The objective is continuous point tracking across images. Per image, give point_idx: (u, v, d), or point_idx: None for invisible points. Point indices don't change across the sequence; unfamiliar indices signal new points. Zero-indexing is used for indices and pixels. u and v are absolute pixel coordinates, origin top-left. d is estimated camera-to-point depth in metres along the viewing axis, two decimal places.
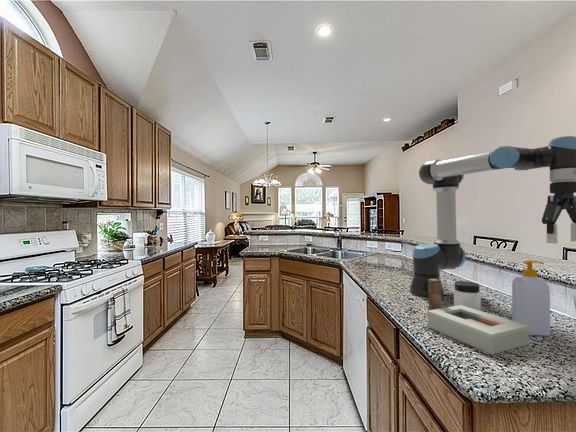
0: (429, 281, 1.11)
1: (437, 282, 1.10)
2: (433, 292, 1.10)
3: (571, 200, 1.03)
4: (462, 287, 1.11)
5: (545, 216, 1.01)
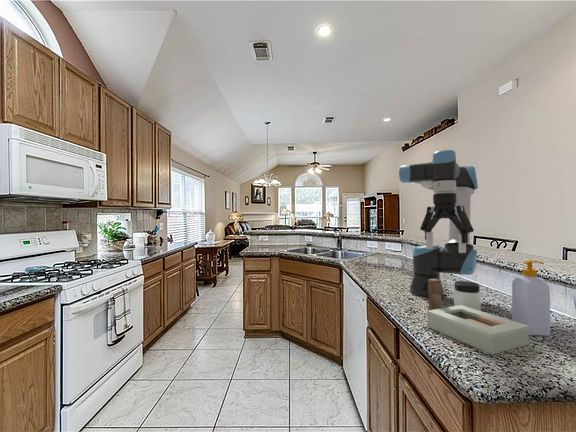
0: (429, 281, 1.11)
1: (437, 282, 1.10)
2: (433, 292, 1.10)
3: None
4: (462, 287, 1.11)
5: None
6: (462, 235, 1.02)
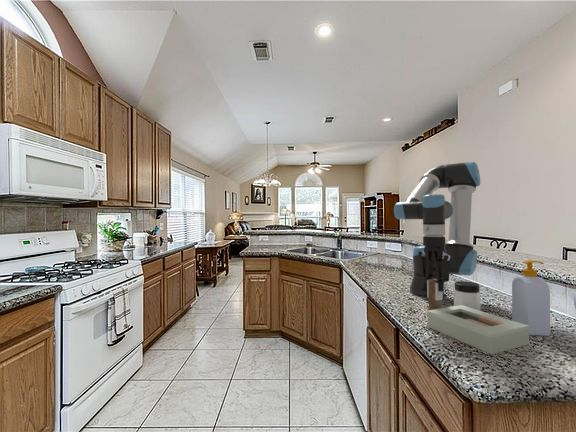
0: (429, 281, 1.11)
1: None
2: (433, 292, 1.10)
3: None
4: (462, 287, 1.11)
5: None
6: (438, 284, 1.08)
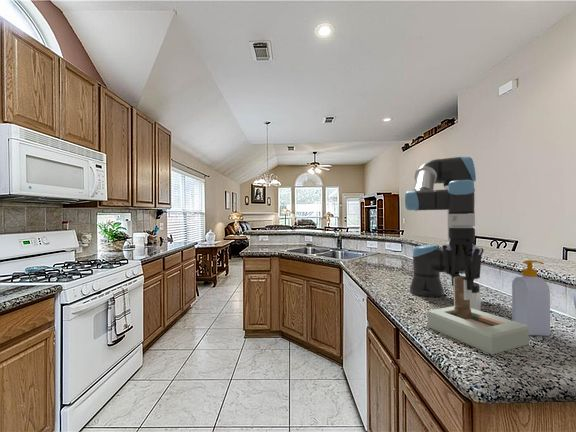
0: (456, 278, 0.98)
1: None
2: (461, 291, 0.97)
3: None
4: None
5: None
6: (467, 281, 0.96)
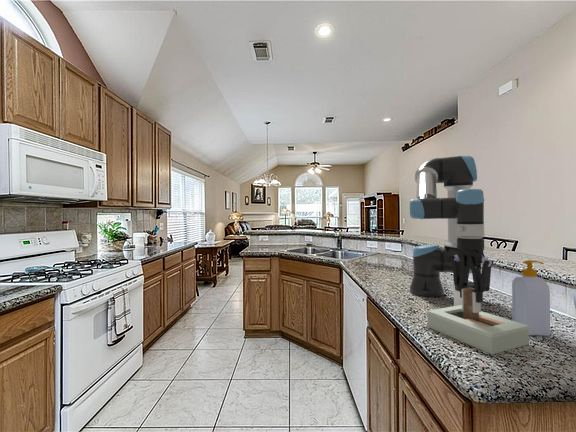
0: (464, 290, 0.96)
1: None
2: (469, 303, 0.94)
3: None
4: None
5: None
6: (476, 293, 0.93)
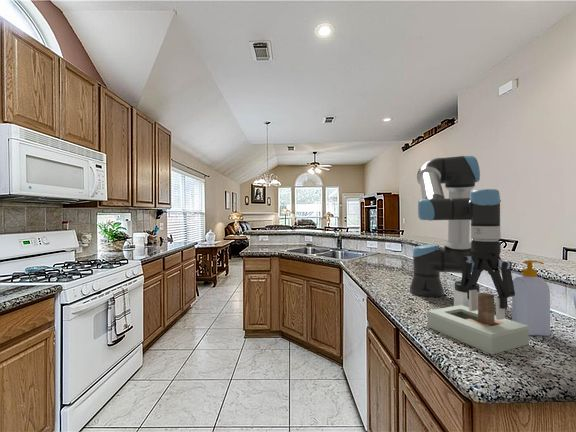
0: (479, 296, 0.91)
1: (490, 297, 0.89)
2: (485, 309, 0.90)
3: None
4: (462, 287, 1.11)
5: None
6: (500, 299, 0.86)
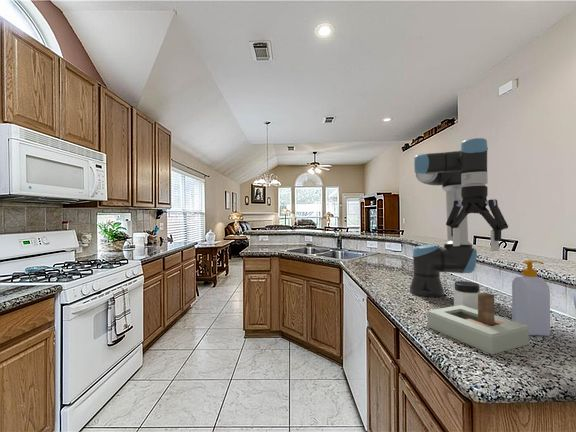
0: (479, 296, 0.91)
1: (490, 297, 0.89)
2: (485, 309, 0.90)
3: None
4: (462, 287, 1.11)
5: None
6: (495, 232, 0.93)
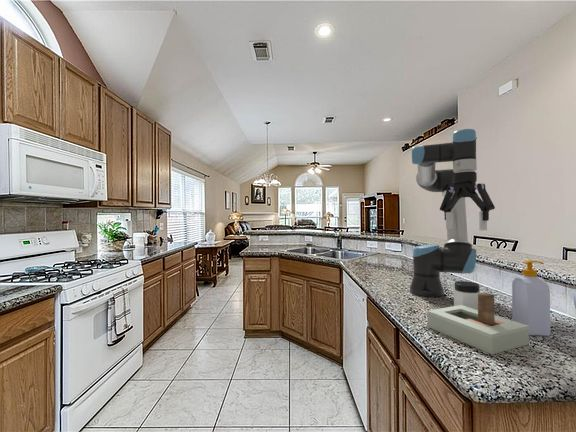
0: (479, 296, 0.91)
1: (490, 297, 0.89)
2: (485, 309, 0.90)
3: None
4: (462, 287, 1.11)
5: None
6: (483, 213, 1.03)
